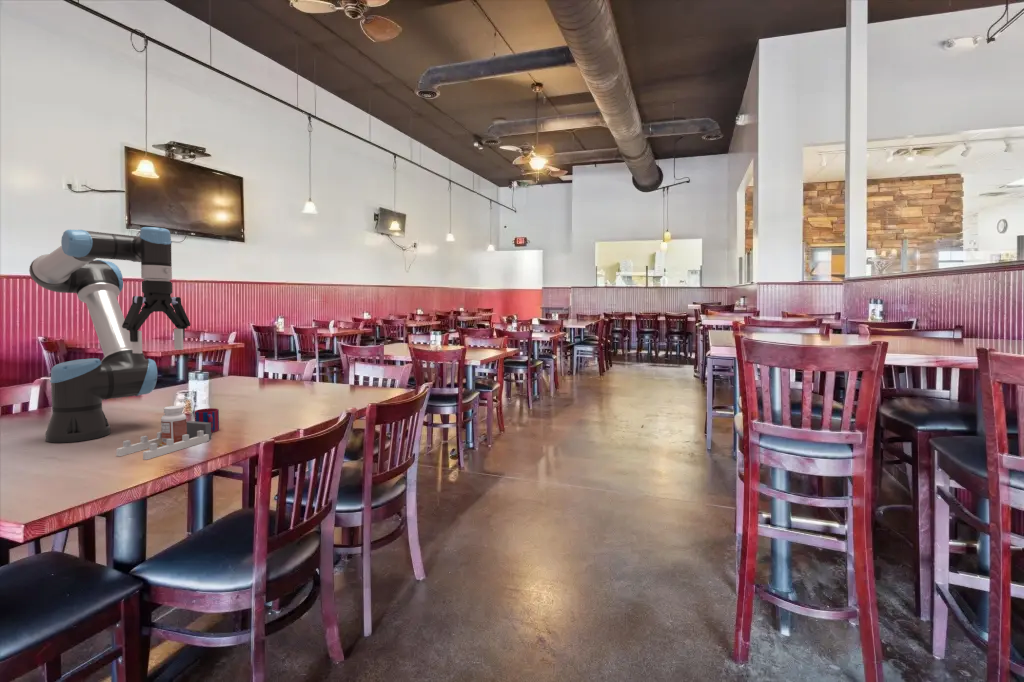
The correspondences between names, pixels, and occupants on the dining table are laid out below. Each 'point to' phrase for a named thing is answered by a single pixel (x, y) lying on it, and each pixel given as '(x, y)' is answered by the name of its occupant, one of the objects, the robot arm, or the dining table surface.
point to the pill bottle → (173, 424)
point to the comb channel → (168, 441)
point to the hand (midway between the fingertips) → (159, 351)
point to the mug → (208, 417)
